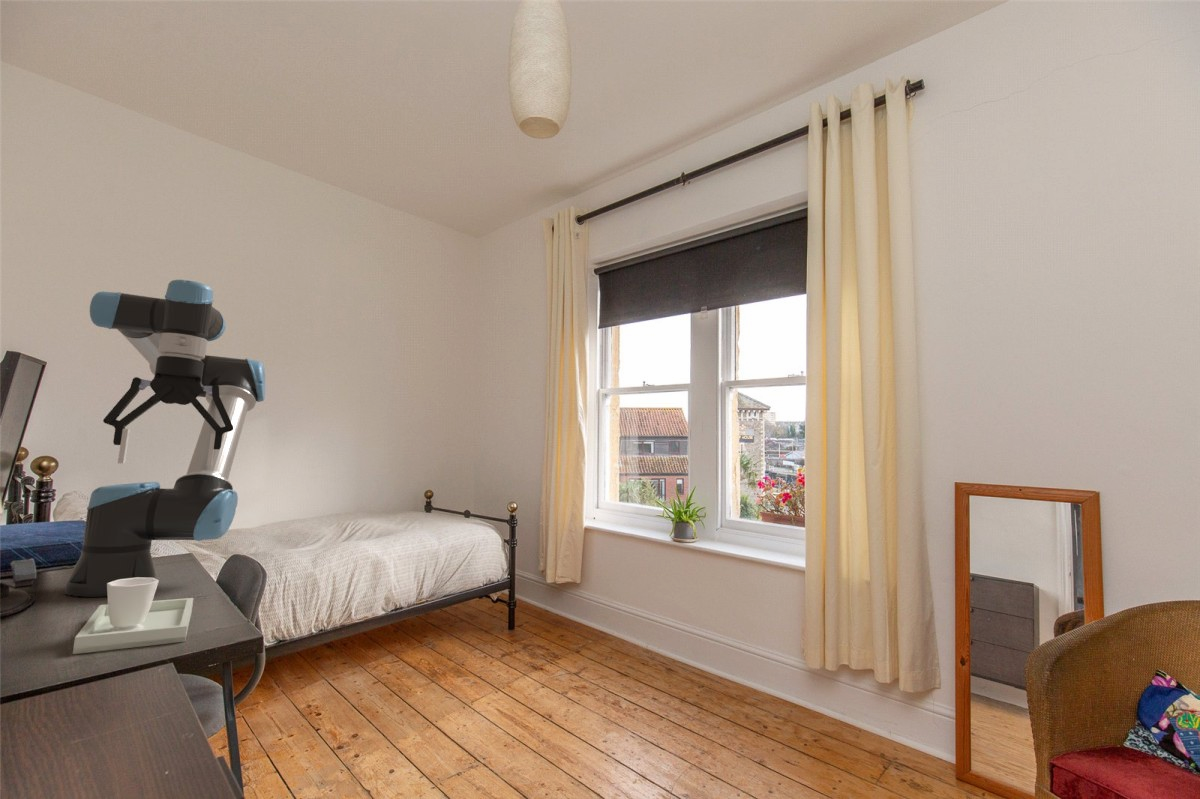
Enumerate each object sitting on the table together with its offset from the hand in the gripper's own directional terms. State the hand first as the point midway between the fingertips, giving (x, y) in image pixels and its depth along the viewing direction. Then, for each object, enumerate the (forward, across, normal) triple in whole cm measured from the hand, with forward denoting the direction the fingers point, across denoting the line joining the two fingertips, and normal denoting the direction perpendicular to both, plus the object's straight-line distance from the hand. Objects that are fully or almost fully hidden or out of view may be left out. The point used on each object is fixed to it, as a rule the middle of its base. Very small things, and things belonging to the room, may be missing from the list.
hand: (166, 464), depth 108 cm
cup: (+28, -2, -10) cm, 30 cm away
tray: (+29, 0, -9) cm, 30 cm away
